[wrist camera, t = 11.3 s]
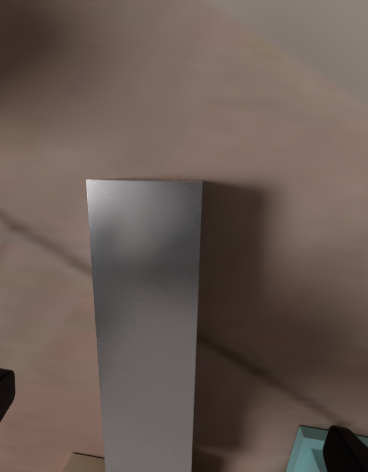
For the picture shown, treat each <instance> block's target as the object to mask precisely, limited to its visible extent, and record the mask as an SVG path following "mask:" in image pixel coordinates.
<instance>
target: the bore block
mask: <svg viewBox="0 0 368 472" xmlns="http://www.w3.org/2000/svg"><path fill="white" fill-rule="evenodd" d="M63 472H106V470H105V459H102V458H96V457H91V456H85V455H80V454H74V453H72V454H71V456H70V458H69V460H68V462H67V464H66V466H65V469H64V471H63Z"/></svg>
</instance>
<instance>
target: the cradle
mask: <svg viewBox="0 0 368 472" xmlns="http://www.w3.org/2000/svg"><path fill="white" fill-rule="evenodd" d="M327 433H328V431H326V430H320V429H314V428H309V427H303V426H299V429H298V433H297V436H296V439H295V443H294V446H293V449H292V453H291V456H290V459H289V463H288V466H287V469H286V472H327V470H326V466H325V462H324V458H323V445H324V442H325V439H326V436H327ZM357 437H358V438H359V439H360V440H361V441H362V442H363V443H364V444H365V445H366V446H367V447H368V438H367V437H361V436H357Z"/></svg>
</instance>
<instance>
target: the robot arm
mask: <svg viewBox="0 0 368 472" xmlns="http://www.w3.org/2000/svg"><path fill="white" fill-rule="evenodd" d="M14 397H15V374H14V372H13V371H12V370H8V369H2V368H0V422H1V420H2V418H3V417H4V415H5V413H6V412H7V410H8V409H9V407H10V405H11V404H12V402H13V400H14ZM323 458H324V462H325V466H326V470H327V472H368V447H367V446H366V445H365V444H364V443H363V442H362V441H361V440H360V439H359V438H358V437H357V436H356V435H355V434H354V433H353V432H352V431H351V430H349V429H348V428H346V427H341V426H335V425H332V426H331V427H330V428H329V430H328V433H327V436H326V439H325V442H324V445H323Z"/></svg>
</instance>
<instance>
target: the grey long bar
mask: <svg viewBox="0 0 368 472" xmlns="http://www.w3.org/2000/svg"><path fill="white" fill-rule="evenodd" d="M86 185H87V200H88V215H89V230H90V245H91V260H92V275H93V290H94V305H95V320H96V335H97V350H98V365H99V380H100V395H101V410H102V425H103V440H104V455H105V470H106V472H191V470H192V446H193V421H194V395H195V369H196V343H197V317H198V291H199V265H200V239H201V213H202V187H203V180H170V179H128V178H115V179H90V180H86Z"/></svg>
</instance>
